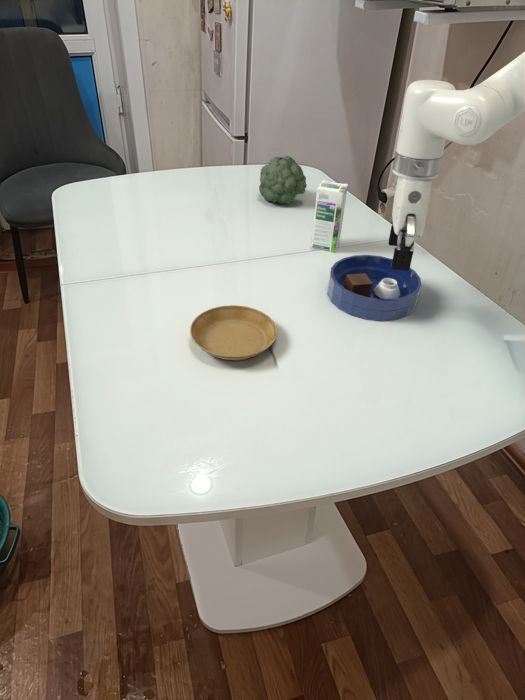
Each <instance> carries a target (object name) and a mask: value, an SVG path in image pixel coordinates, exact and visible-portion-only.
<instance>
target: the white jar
mask: <svg viewBox="0 0 525 700" xmlns="http://www.w3.org/2000/svg"><path fill="white" fill-rule="evenodd" d="M374 293H375V294H376V296H378V297H380V298H382V299H397V298H399V296H400V290H399V287H398V285H397V281H396V280H394V279H391V278H384V279H382V280H381V282H380V283H379V284H378V285H377V286H376V287H375V289H374Z"/></svg>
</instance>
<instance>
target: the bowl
mask: <svg viewBox="0 0 525 700" xmlns="http://www.w3.org/2000/svg"><path fill="white" fill-rule="evenodd" d="M392 260H393V258H389V257H386V256H382V255H374V254H373V255H372V254H357V255H351V256H346V257H343V258H341V259H340V260H337V261H335V263H333V265H332V266H331V268H330V271H329V279H328V285H327V296H328V298H329V301H330V302H331V303H332V304H333V305H334V306H335V307H336V308H338V310H340V311H342V312H344V313H346V314H348V315H350V316H353V317H356V318H358V319H359V318H360V319H363V320H368V321H376V322H383V321H384V322H385V321H395V320H398V319H401V318H405V317H407V316H408V315H409V314H411V313H413V312H414V310H415V308H416V306H417V303H418V299H419V295H420V293H421V288H422V280H421V277H420V275H418V273H417V272H416V271H415V270H414V269H413V268H412V267H410V269H409V270H408V271H405V270H393V269H392V268H391V265H392ZM361 273H366V275H367V276H368V277H369V279H370V280H371V282H372V283H373V286H372V291H371V296H370V298H369V297H365V296H362V295H358V294H355V293H353V292H351V291H349V290H347V289H345V288H344V285H345V279H346V275H347V274H361ZM384 278H391V279H394V280H396V281H397V285H398V287H399V290H400V296H399V298H397V299H382V298H380V297H378V296H376V294H375V293H374V289H375V287H376V286H377V285H378V284H379V283H380V282H381V280H382V279H384Z"/></svg>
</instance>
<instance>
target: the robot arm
mask: <svg viewBox="0 0 525 700" xmlns="http://www.w3.org/2000/svg"><path fill="white" fill-rule="evenodd" d="M402 107H403V108H402V113H401V118H400V125H399V130H398V137H397V142H396V146H395V147H396V149H395V154H394V159H393V167H392V171H391V172H392V173H393V175H395V176H396V177H397V181H396V185H395V191H394V197H393V204H392V211H391V221H392V224H391V227H390V232H389V238H388V246H390V247H391V246H392V247H394V250H393V255H392V259H393V260H392V265H391V268H392V269H393V270H405V271H408V270H409V269H410V268H411V265H412V260H413V257H414V256H413V255H414V250H415V240H416V237H418V238H421V237H423V235H424V232H425V226H426V221H427V217H428V216H427V215H428V210H429V205H430V199H431V193H432V184H433V183H432V182H433V180H434V179H437V178H438V177H439V173H440V169H441V165H442V164H441V163H442V159H443V155H444V151H445V146H446V143H447V141H450V142H453V143H455V144H458V145H463V146H475V145H479V144H481V143H483V142H485V141H486V140H487V139H489V138H490V137H491V136H492V135H494V134H495V133H496V132H497V131H498V130H499V129H501V128H502V127H504V126H506V124H508V123H510V122H511V121H513V120H514V119H515V118H517V117H519V116H520V115H522V114H523V113H525V51H523V52H522V53H521V54H519V55H518V56H517V57H516V58H514V59H513V60H511V61H510V62H509V63H507V64H506V65H505V66H503V67H502V68H500V69H499V70H497V71H496V72H495V73H493V74H492V75H490V76H489V77H487V78H486V79H485V80H483V81H482V82H479V83H478V84H476V85H474V86H473V87H471V88H467V89H461V90H460V89H456V87H455V86H454V85H453V84H452V83H450V82H448V81H444V80H437V79H418V80H415V81H413V82H411V83H410V84H409V85H408V86H407V88H406V91H405V96H404V101H403V106H402Z"/></svg>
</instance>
